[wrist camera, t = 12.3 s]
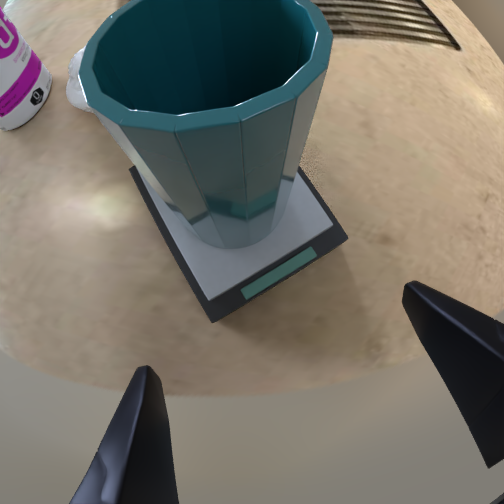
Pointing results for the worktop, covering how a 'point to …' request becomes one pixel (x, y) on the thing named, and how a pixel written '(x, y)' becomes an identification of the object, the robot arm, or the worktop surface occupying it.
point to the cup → (211, 104)
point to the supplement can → (19, 78)
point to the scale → (248, 248)
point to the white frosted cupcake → (76, 84)
